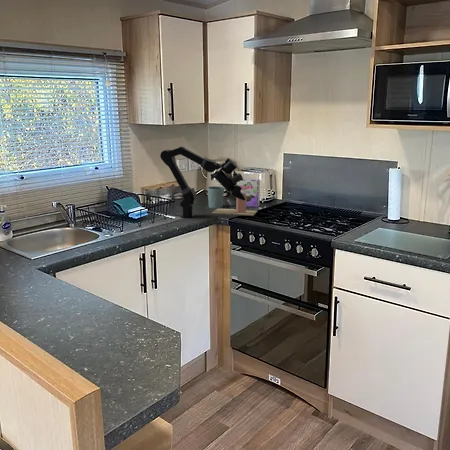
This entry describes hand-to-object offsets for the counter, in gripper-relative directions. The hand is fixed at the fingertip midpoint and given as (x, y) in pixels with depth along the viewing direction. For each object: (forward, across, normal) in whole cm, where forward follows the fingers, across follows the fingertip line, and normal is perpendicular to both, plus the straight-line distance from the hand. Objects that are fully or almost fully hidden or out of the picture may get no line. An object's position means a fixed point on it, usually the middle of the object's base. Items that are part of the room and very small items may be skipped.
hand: (243, 199), depth 261 cm
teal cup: (0, +30, +14) cm, 33 cm away
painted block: (+4, 0, +6) cm, 7 cm away
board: (+6, +12, +9) cm, 16 cm away
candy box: (+14, +30, 0) cm, 33 cm away
